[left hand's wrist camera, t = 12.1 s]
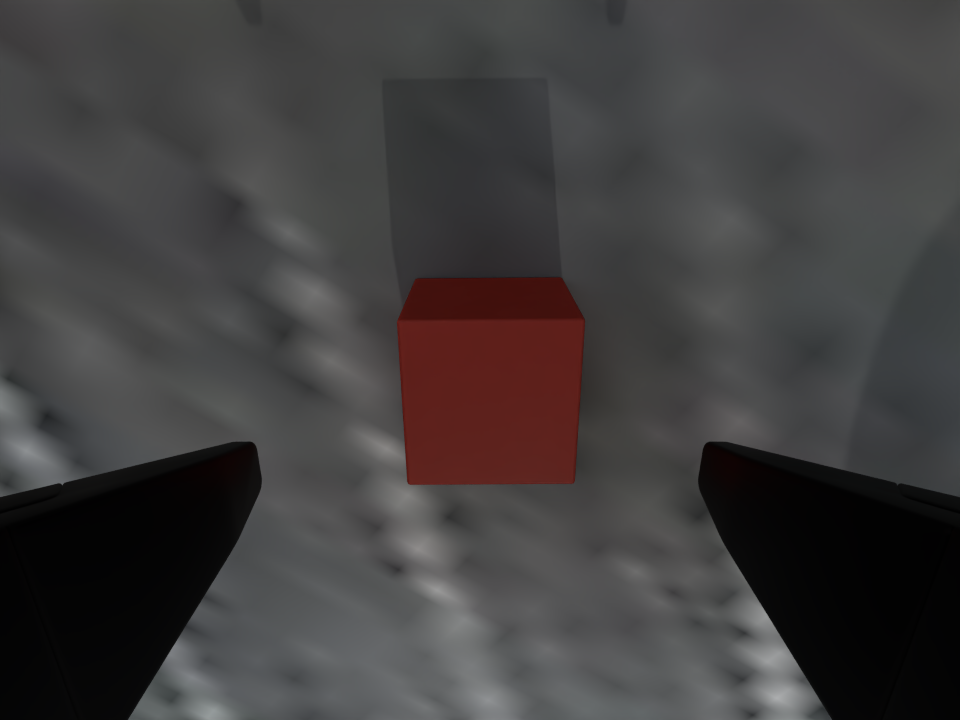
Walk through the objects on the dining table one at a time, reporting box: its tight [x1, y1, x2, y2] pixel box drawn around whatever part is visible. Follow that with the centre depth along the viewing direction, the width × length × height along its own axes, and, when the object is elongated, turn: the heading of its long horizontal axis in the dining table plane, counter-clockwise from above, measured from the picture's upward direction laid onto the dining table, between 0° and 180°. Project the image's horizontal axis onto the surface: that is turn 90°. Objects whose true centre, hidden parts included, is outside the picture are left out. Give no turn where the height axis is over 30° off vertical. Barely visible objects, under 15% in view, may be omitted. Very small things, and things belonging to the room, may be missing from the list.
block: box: [397, 278, 585, 485], centre depth 16 cm, size 5×4×4 cm
